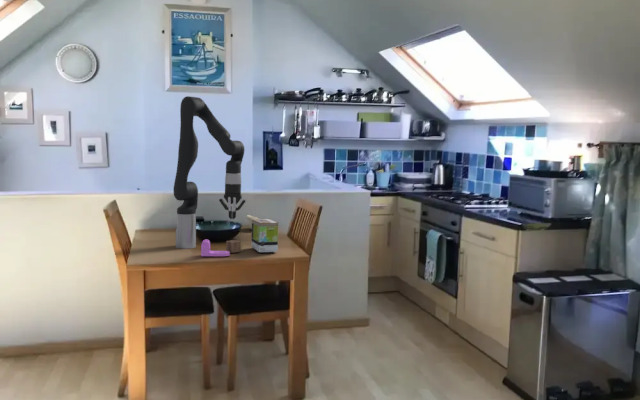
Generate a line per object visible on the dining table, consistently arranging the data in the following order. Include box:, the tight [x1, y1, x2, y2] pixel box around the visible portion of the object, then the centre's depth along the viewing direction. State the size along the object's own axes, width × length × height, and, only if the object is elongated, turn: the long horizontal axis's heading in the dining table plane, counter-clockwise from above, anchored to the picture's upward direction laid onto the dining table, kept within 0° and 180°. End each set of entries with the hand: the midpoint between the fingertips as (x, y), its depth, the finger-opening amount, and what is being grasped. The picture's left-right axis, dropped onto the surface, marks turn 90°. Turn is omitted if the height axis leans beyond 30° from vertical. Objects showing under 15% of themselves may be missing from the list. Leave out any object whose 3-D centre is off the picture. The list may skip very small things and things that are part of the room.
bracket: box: [200, 239, 231, 257], centre depth 255 cm, size 13×6×7 cm, turn 98°
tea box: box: [251, 218, 279, 253], centre depth 269 cm, size 15×10×15 cm
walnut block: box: [225, 239, 242, 254], centre depth 264 cm, size 5×5×5 cm
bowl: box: [246, 214, 260, 230], centre depth 326 cm, size 15×14×10 cm
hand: (232, 218), depth 258 cm, fingers closed
